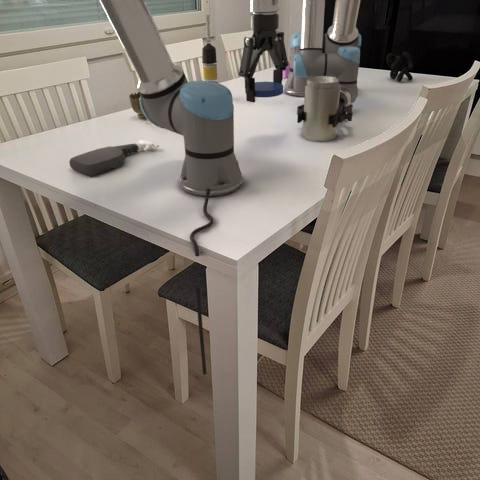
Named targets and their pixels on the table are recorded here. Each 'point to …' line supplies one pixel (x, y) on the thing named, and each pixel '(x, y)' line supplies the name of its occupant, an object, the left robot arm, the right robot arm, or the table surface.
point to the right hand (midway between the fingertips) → (316, 120)
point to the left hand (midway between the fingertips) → (264, 97)
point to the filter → (209, 57)
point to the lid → (268, 89)
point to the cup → (136, 104)
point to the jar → (320, 108)
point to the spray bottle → (106, 157)
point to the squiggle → (399, 66)
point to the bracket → (286, 71)
